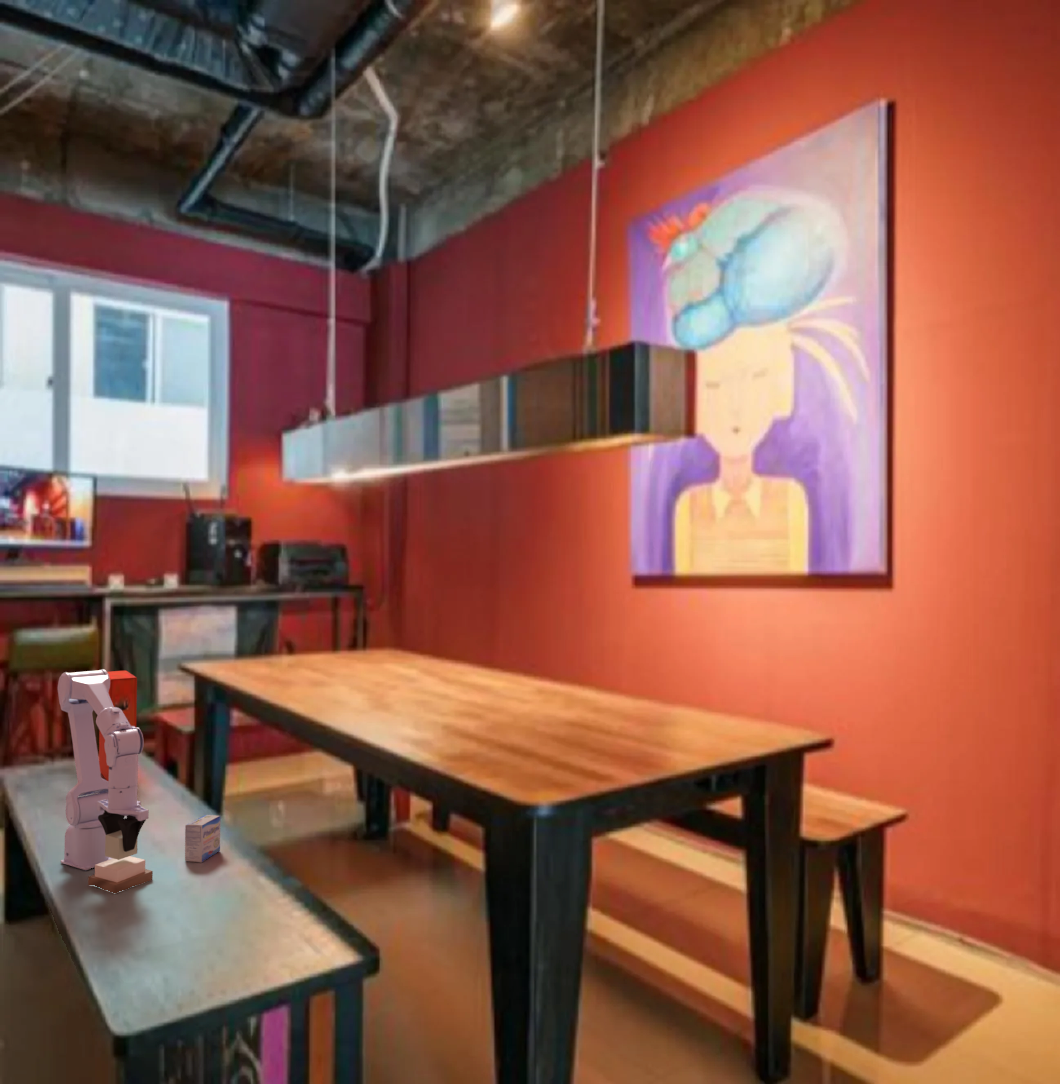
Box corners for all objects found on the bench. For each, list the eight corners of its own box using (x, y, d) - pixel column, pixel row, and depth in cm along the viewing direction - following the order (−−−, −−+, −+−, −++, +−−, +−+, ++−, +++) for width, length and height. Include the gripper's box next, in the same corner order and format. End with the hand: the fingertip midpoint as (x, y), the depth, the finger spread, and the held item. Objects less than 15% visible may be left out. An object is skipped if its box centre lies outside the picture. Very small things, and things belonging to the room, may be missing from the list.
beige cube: (105, 856, 181) (105, 835, 181) (123, 849, 185) (124, 829, 185) (118, 860, 179) (119, 838, 179) (137, 853, 183) (137, 832, 183)
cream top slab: (94, 876, 180) (95, 864, 180) (123, 865, 186) (123, 854, 186) (117, 882, 177) (117, 870, 177) (145, 871, 183) (145, 860, 183)
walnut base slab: (88, 888, 180) (88, 876, 180) (125, 874, 188) (125, 863, 188) (115, 897, 175) (115, 885, 175) (152, 882, 183) (152, 871, 183)
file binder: (106, 783, 257) (109, 679, 257) (97, 771, 271) (100, 672, 271) (135, 779, 261) (138, 677, 262) (125, 767, 275) (127, 670, 276)
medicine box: (201, 863, 193) (202, 825, 194) (184, 861, 194) (184, 824, 194) (220, 851, 201) (221, 815, 201) (203, 850, 202) (204, 814, 202)
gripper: (161, 785, 182) (159, 848, 182) (117, 776, 189) (116, 836, 189) (132, 793, 176) (130, 858, 176) (88, 783, 183) (87, 846, 182)
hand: (121, 848), depth 182 cm, fingers closed on beige cube, 4 cm apart
